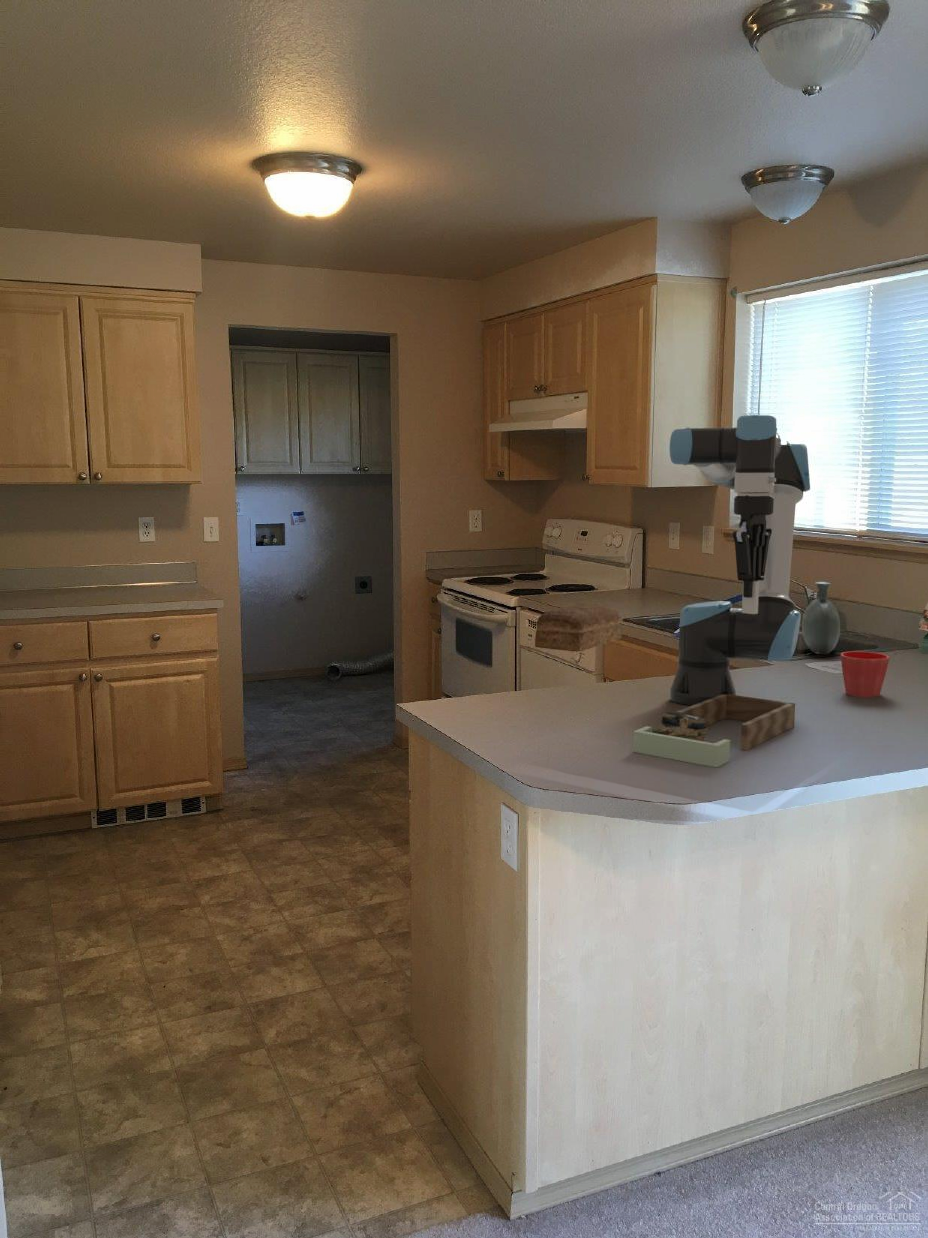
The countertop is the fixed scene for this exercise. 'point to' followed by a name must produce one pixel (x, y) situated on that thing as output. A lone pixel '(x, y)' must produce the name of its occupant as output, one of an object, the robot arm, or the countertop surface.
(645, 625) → the countertop surface
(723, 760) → the bracket
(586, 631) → the bread
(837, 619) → the flask
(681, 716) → the rock
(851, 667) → the flower pot
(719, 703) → the cubby
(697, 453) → the robot arm
